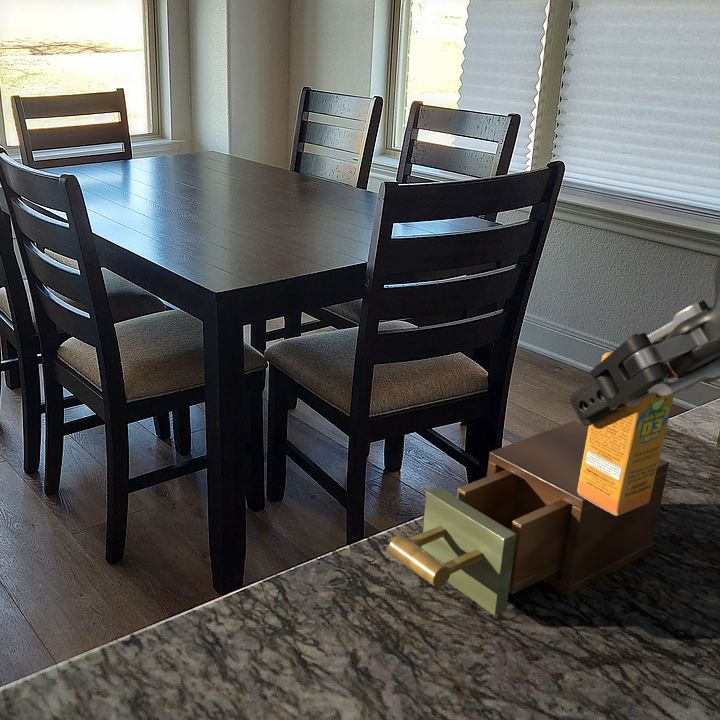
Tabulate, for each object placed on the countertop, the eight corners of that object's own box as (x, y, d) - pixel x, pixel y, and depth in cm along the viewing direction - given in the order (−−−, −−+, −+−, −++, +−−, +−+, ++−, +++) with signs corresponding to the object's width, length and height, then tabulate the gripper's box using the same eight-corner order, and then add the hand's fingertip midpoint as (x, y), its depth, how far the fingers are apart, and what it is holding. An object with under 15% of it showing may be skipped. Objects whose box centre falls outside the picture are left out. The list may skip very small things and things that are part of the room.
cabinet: (567, 596, 62) (583, 500, 59) (479, 539, 69) (489, 451, 66) (651, 552, 67) (669, 462, 64) (561, 503, 74) (574, 420, 71)
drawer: (444, 641, 57) (452, 562, 54) (371, 584, 63) (376, 510, 60) (579, 573, 63) (591, 500, 61) (502, 526, 69) (510, 458, 67)
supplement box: (620, 520, 52) (645, 370, 48) (575, 495, 55) (596, 351, 51) (655, 505, 54) (683, 358, 50) (610, 481, 56) (633, 340, 53)
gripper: (891, 179, 43) (646, 332, 58) (716, 212, 37) (491, 374, 52) (983, 306, 41) (703, 432, 56) (812, 363, 35) (548, 488, 50)
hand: (602, 403), depth 54 cm, fingers closed on supplement box, 3 cm apart
